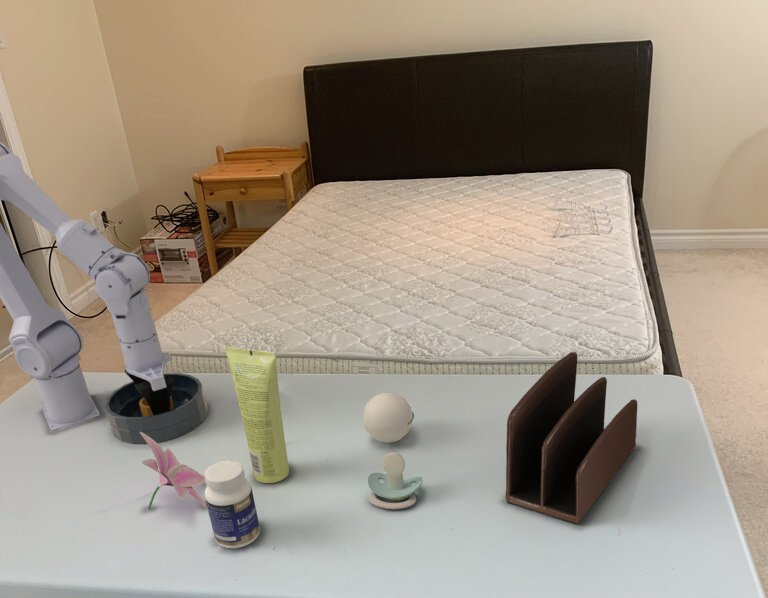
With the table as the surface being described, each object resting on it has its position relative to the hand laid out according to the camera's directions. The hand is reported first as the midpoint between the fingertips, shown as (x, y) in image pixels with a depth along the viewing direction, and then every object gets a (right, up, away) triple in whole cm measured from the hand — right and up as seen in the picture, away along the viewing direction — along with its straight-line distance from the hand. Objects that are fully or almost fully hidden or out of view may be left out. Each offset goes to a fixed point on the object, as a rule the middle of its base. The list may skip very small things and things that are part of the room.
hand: (158, 412), depth 123 cm
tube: (+21, -9, -16) cm, 28 cm away
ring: (0, -1, +1) cm, 1 cm away
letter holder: (+62, -8, -22) cm, 66 cm away
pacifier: (+38, -12, -23) cm, 46 cm away
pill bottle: (+18, -16, -27) cm, 36 cm away
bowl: (0, -2, +1) cm, 2 cm away
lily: (+9, -12, -19) cm, 24 cm away
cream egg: (+38, -3, -9) cm, 39 cm away
